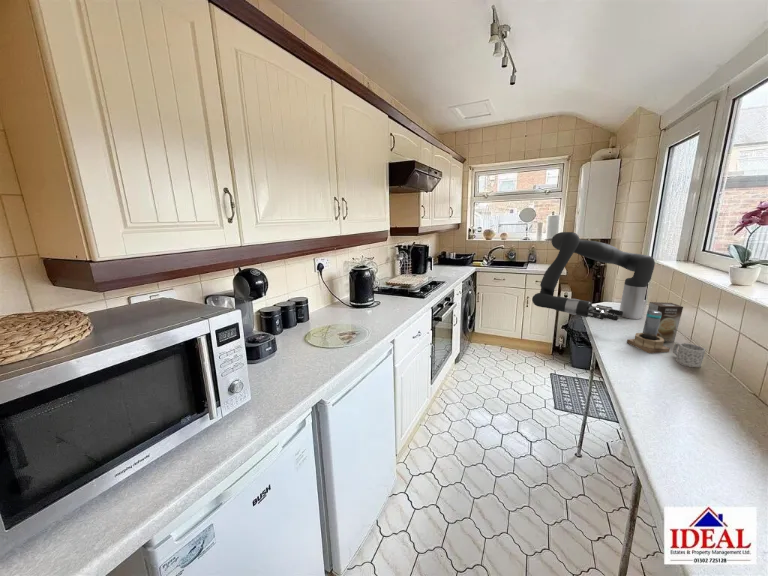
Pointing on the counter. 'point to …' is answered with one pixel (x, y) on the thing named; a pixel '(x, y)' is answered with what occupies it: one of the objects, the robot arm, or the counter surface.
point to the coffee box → (667, 319)
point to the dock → (649, 350)
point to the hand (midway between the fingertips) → (620, 315)
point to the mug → (689, 354)
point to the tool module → (651, 324)
